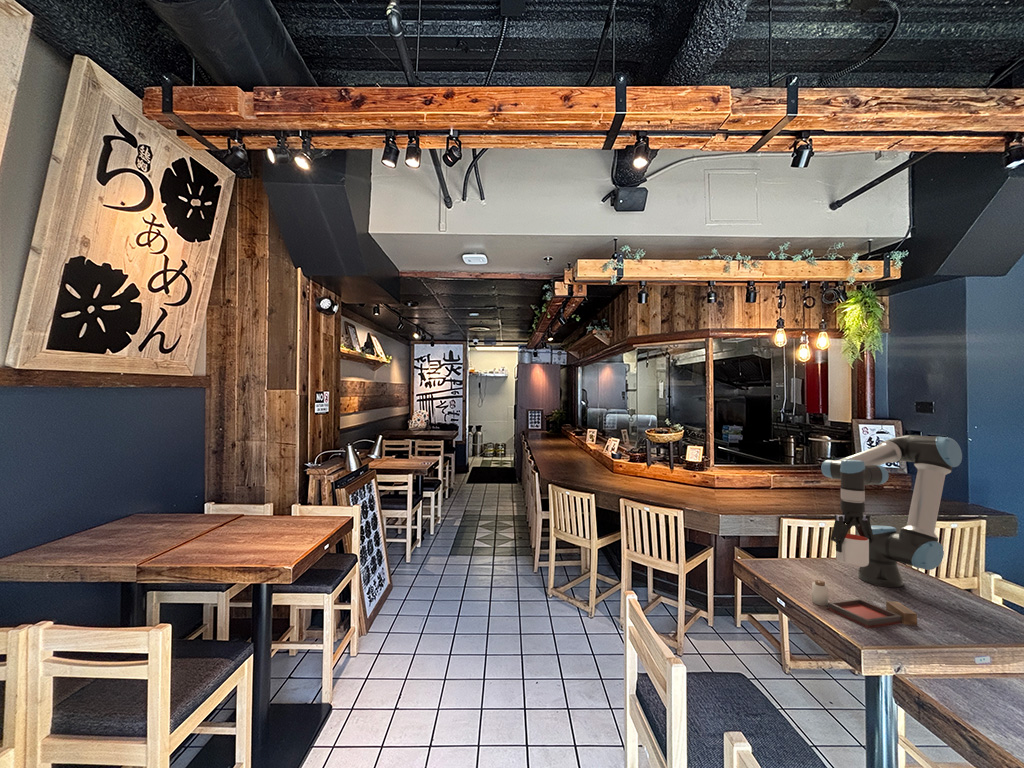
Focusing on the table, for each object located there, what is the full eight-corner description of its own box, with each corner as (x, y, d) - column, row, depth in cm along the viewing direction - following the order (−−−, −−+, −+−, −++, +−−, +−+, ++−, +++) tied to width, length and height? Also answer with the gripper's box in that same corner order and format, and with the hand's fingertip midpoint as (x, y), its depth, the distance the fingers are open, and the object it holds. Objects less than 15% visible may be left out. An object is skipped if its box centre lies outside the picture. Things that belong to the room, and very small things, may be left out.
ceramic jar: (819, 599, 182) (819, 578, 183) (831, 605, 178) (831, 583, 178) (809, 601, 181) (808, 579, 181) (820, 606, 176) (820, 584, 177)
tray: (859, 605, 178) (859, 598, 178) (901, 623, 163) (901, 616, 163) (827, 609, 174) (827, 602, 174) (867, 628, 159) (867, 620, 160)
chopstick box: (898, 613, 172) (898, 601, 172) (917, 625, 162) (916, 614, 162) (886, 612, 172) (886, 601, 172) (904, 624, 162) (903, 613, 163)
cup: (874, 569, 173) (874, 541, 173) (843, 566, 175) (843, 539, 175) (861, 560, 182) (861, 534, 183) (831, 558, 185) (831, 532, 185)
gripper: (867, 498, 186) (867, 555, 185) (819, 499, 181) (819, 558, 180) (886, 502, 178) (886, 562, 177) (836, 503, 174) (836, 564, 173)
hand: (852, 560), depth 179 cm, fingers closed on cup, 10 cm apart
